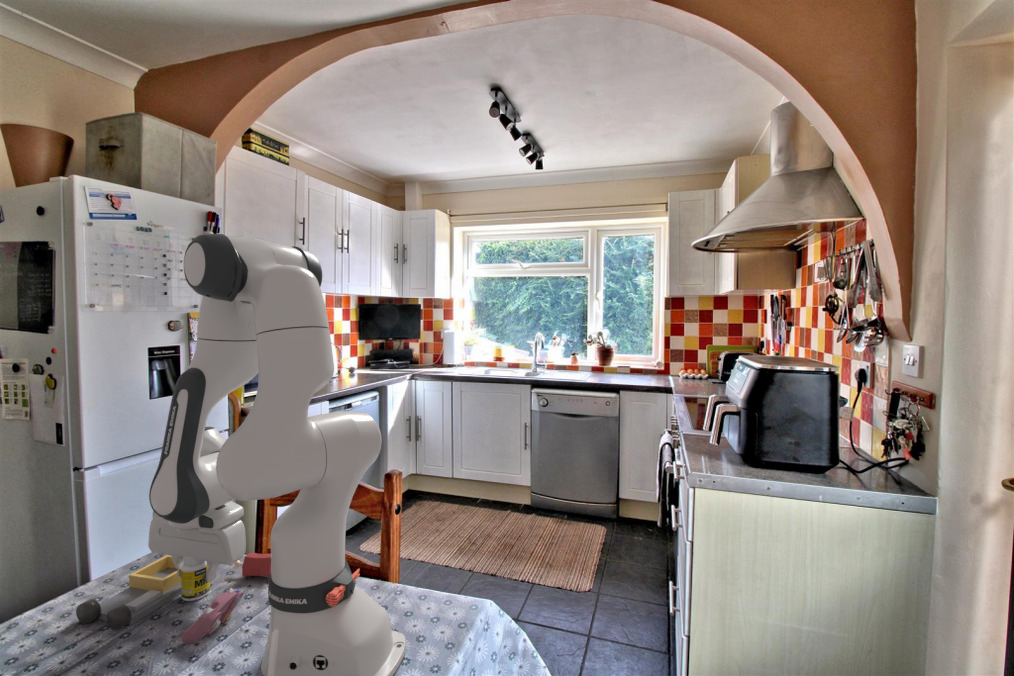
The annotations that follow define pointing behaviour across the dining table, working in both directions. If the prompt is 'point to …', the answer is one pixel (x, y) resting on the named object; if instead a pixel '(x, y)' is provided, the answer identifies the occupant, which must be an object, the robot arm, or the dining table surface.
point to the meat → (255, 565)
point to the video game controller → (213, 616)
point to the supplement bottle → (193, 579)
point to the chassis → (136, 596)
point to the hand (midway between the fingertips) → (196, 577)
